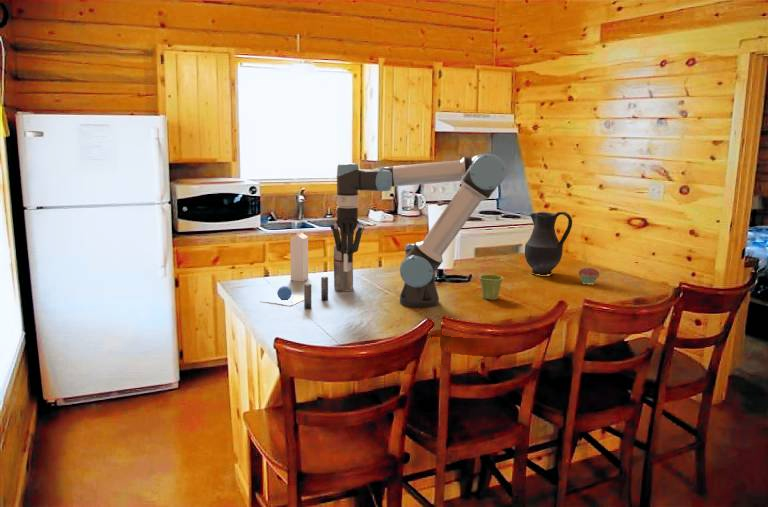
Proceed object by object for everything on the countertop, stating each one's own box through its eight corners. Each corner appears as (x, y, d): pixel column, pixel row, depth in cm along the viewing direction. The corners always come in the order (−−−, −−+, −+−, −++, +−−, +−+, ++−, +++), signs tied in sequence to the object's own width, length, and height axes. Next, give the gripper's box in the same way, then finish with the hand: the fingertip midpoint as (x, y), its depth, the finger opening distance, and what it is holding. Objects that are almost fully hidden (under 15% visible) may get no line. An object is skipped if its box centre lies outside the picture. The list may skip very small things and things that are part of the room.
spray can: (350, 292, 250) (351, 244, 246) (331, 291, 252) (331, 243, 248) (355, 287, 258) (356, 240, 254) (336, 286, 260) (336, 239, 256)
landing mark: (310, 297, 242) (310, 296, 242) (290, 306, 230) (290, 305, 230) (279, 293, 248) (279, 292, 248) (259, 301, 235) (259, 301, 235)
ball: (280, 294, 241) (291, 301, 240) (272, 297, 236) (284, 304, 235) (285, 282, 240) (296, 289, 238) (277, 285, 235) (289, 292, 233)
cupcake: (577, 285, 269) (579, 258, 266) (579, 280, 276) (581, 254, 274) (598, 287, 266) (600, 260, 263) (599, 282, 273) (601, 256, 271)
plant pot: (473, 296, 248) (474, 275, 246) (493, 294, 252) (494, 273, 250) (486, 302, 240) (487, 280, 238) (506, 300, 243) (507, 278, 241)
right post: (329, 299, 240) (329, 277, 238) (326, 301, 237) (325, 278, 235) (323, 298, 241) (323, 276, 239) (320, 300, 238) (320, 277, 236)
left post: (312, 307, 228) (312, 284, 226) (309, 309, 226) (308, 286, 224) (306, 307, 229) (306, 283, 227) (303, 308, 227) (302, 285, 225)
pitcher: (531, 268, 300) (535, 207, 294) (573, 274, 288) (579, 211, 282) (517, 274, 286) (521, 210, 280) (560, 281, 274) (565, 214, 268)
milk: (290, 280, 268) (289, 230, 264) (295, 277, 274) (294, 228, 270) (303, 281, 267) (302, 231, 262) (308, 278, 273) (307, 229, 268)
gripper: (326, 206, 220) (326, 271, 224) (359, 209, 215) (358, 274, 219) (336, 204, 226) (336, 267, 231) (368, 206, 221) (367, 270, 226)
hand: (347, 270), depth 225 cm, fingers closed
